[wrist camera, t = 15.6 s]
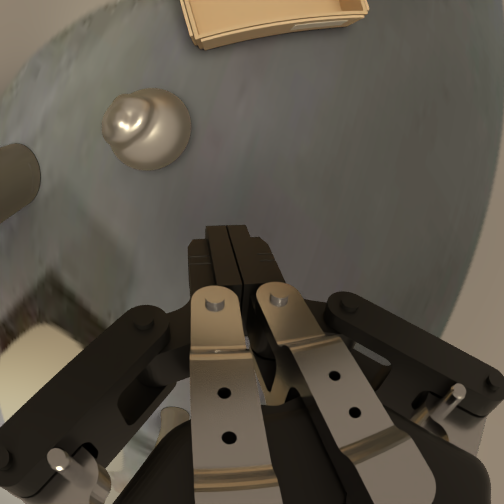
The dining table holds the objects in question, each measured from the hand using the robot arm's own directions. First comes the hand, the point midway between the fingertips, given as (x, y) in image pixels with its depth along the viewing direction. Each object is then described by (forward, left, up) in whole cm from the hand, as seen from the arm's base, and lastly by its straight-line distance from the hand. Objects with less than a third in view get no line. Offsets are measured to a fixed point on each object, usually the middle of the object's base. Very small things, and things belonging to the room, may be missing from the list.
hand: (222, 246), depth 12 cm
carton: (+3, +20, -26) cm, 33 cm away
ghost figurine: (-8, +3, -27) cm, 28 cm away
